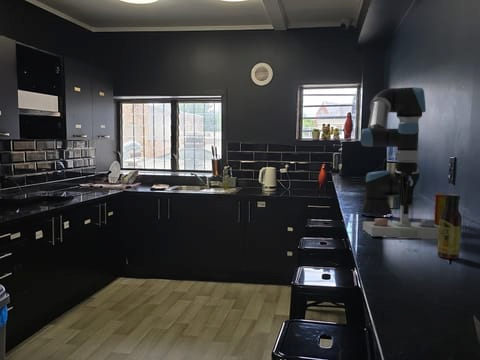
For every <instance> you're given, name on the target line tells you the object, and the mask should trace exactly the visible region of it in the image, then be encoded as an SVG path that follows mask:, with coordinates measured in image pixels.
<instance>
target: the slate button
mask: <svg viewBox="0 0 480 360" xmlns="http://www.w3.org/2000/svg"><path fill="white" fill-rule="evenodd" d="M420 223H421V227H430V228H434V226H435V220H433V219H428V218H426V219H425V218H424V219H423V218H422V219H420Z"/></svg>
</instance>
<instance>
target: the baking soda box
mask: <svg viewBox="0 0 480 360" xmlns="http://www.w3.org/2000/svg"><path fill="white" fill-rule="evenodd" d="M446 194H447V193H443V192H441V193H440V192H439V193H438V192H435V193H434V201H433V203H434V204H433V219H432V220H435V225H438V226H439V221H440V217H441V215H442V213H443V211H444V208H445V201H446V199H445V195H446Z"/></svg>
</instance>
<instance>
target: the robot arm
mask: <svg viewBox="0 0 480 360" xmlns="http://www.w3.org/2000/svg"><path fill="white" fill-rule="evenodd" d="M369 111H370V113H369V120H368V126H367V128H363V129H362V130H361V133H360V138H361V139H360V143H361V146H363V147H370V148H372V147H376V148H377V147H378V148H379V147H380V148H382V147H383V148H384V147H387V148H389V147H390V148H397V151H396V153H395V156H396V161H397V162H396V168H395V169H394V173H391V170H380V171H379V170H378V171H377V170H376V171H371V172H367V174H366V177H365V193H364V194H365V196H364V197H365V199H364V202H363V205H362V208H361V211H362V212H364V213H370V214H381V215H387V214H392V215H393V212H392V209H391V205H390V197H394V198H395V197H396V198H397V197H398V203H399V204H400V220H399V222H409V221H410V219H409V217H410V206H411V205H412V204H413V198H417V197H419V195H420V191H421V187H422V180H423V175H422V174H421V173H420V170H419V169H418V163H417V162H418V157H419V151H418V148H419V133H420V129H419V122H420V118H422V117H423V113H425V112H426V111H427V110H426V97H425V90H424V88H423V87H414V86H413V87H411V86H410V87H393V88H392V87H391V88H386V89H383V90H381V91H380V92H378V93H377V94H376V95H374V96H373V98H372V99H371V101H370V104H369ZM389 113H396V118H397V119H398V120H399V123H398V126H397V128H387V124H388V114H389Z"/></svg>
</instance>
